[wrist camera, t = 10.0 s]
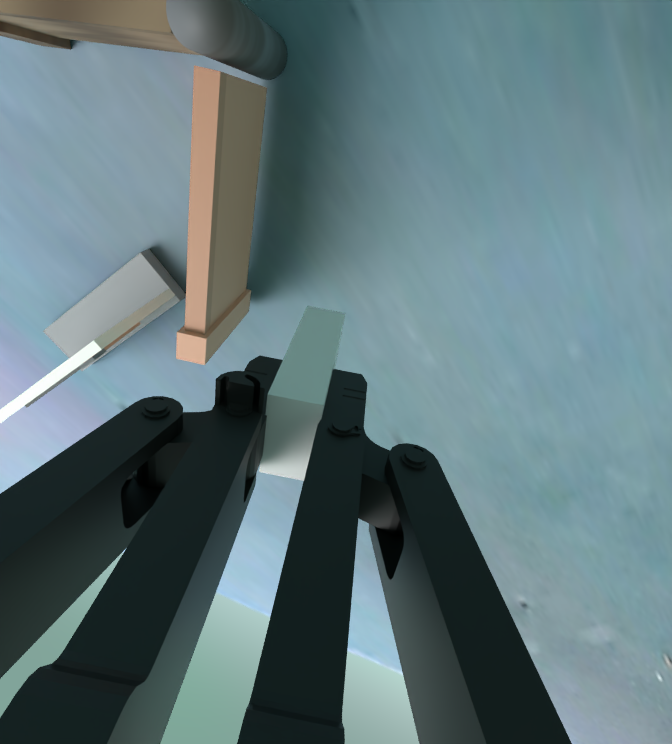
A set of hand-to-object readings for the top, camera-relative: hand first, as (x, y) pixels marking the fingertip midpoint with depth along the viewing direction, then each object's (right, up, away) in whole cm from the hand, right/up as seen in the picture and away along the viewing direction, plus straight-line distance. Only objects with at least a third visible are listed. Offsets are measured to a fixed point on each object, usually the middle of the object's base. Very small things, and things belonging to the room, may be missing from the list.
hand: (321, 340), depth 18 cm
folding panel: (-5, +9, +11) cm, 15 cm away
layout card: (-16, +3, +16) cm, 23 cm away
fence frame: (-9, +18, +8) cm, 21 cm away
